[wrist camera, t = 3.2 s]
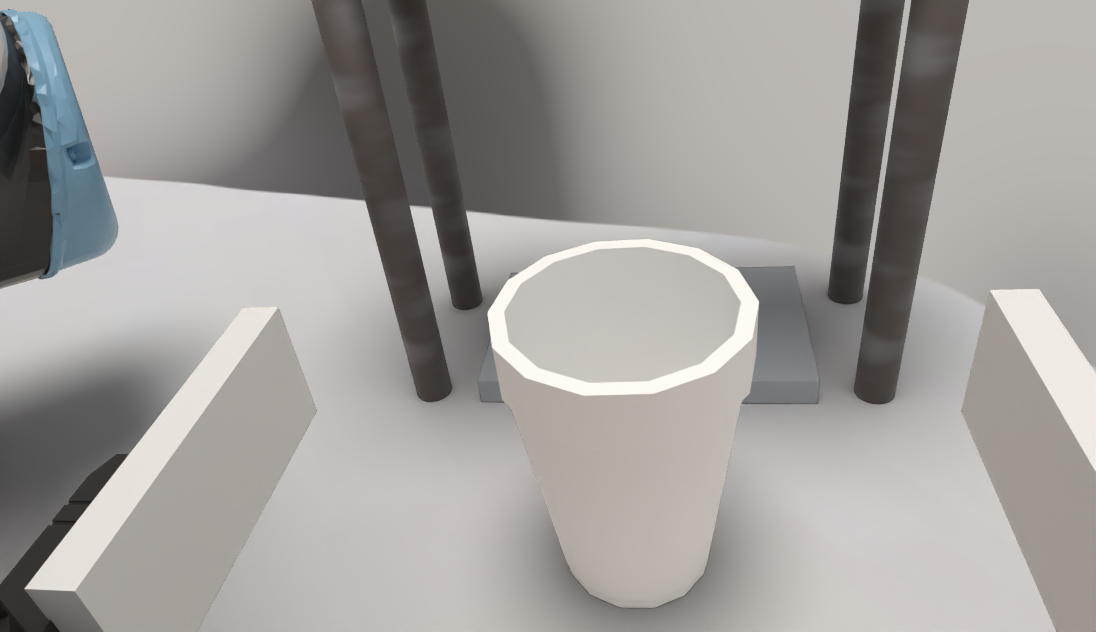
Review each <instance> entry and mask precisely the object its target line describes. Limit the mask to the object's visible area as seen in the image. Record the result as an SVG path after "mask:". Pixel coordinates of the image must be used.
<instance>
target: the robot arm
mask: <svg viewBox="0 0 1096 632" xmlns="http://www.w3.org/2000/svg"><path fill="white" fill-rule="evenodd" d="M117 235H118V222H117V218H116V215H115V212H114V209H113V205H112V202H111V199H110V196H109V193H108V190H107V187H106V184H105V181H104V178H103V175H102V172H101V169H100V166H99V163H98V160H97V157H96V154H95V151H94V148H93V146H92V142H91V140H90V137H89V134H88V131H87V128H86V125H85V122H84V119H83V116H82V113H81V110H80V107H79V104H78V101H77V98H76V95H75V92H74V90H73V87H72V84H71V81H70V78H69V75H68V71H67V68H66V65H65V62H64V59H63V57H62V54H61V51H60V48H59V45H58V42H57V39H56V36H55V33H54V31H53V28H52V25H51V24H50V23H49V21H48V20H47V18H46V17H44V16H43V15H40V14H38V13H36V12H17V11H15V10H13V9H12V10H10V9H8V10H2V11H0V289H1V288H4V287H8V286H12V285H15V284H19V283H22V282H26V281H29V280H33V279H36V278H39V279H47V278H51V277H53V276H54V275H56V274H57V273H58V271H59V270H62V269H65V268H68V267H71V266H73V265H76V264H79V263H82V262H85V261H88V260H91V259H93V258H96V257H99V256H101V255H103V254H104V253H106V252H107V251H108V250H109V249H110V248H111V247H112V245H113V244H114V243H115V241H116V238H117ZM316 412H317V409H316V407H315V404H314V401H313V399H312V396H311V393H310V391H309V388H308V385H307V383H306V380H305V377H304V374H303V372H302V369H301V366H300V364H299V361H298V358H297V356H296V353H295V350H294V348H293V345H292V342H291V339H290V337H289V334H288V331H287V329H286V326H285V323H284V321H283V318H282V315H281V313H280V310H279V307H255V308H243V309H242V310H241V311H240V312H239V314H238V315H237V316H236V318H235V319H234V320H233V321H232V323H231V324H230V325H229V327H228V328H227V329H226V330H225V332H224V333H223V334H222V336H221V337H220V338H219V339H218V341H217V342H216V343H215V345H214V346H213V347H212V348H211V350H210V351H209V352H208V354H207V355H206V356H205V357H204V359H203V360H202V361H201V363H200V364H199V365H198V366H197V368H196V369H195V370H194V372H193V373H192V374H191V375H190V377H189V378H188V379H187V381H186V382H185V383H184V384H183V386H182V387H181V388H180V390H179V391H178V392H177V393H176V395H175V396H174V397H173V399H172V400H171V401H170V402H169V404H168V405H167V406H166V408H165V409H164V410H163V411H162V413H161V414H160V415H159V417H158V418H157V419H156V420H155V422H154V423H153V424H152V425H151V427H150V428H149V429H148V431H147V432H146V433H145V434H144V436H143V437H142V438H141V440H140V441H139V442H138V443H137V445H136V446H135V447H134V449H133V450H132V451H131V452H130V454H116V455H115V456H114V457H112V458H111V459H110V460H109V461H107V462H106V463H105V464H103V465H102V466H101V467H99V468H98V469H97V470H96V471H94V472H93V473H92V474H90V475H89V476H88V477H87V478H86V480H85V481H84V482H83V483H82V485H81V486H80V487H79V488H78V490H77V491H76V492H75V493H74V494H73V496H72V497H71V498H70V499H69V504H68V505H65V506H64V507H63V508H62V509H61V510H60V512H59V513H58V514H57V515H56V517H55V518H54V519H53V520H52V521H53V524H52V525H51V526H50V525H48V526H47V528H46V529H45V530H44V531H43V533H42V534H41V535H40V536H39V538H38V539H37V540H36V541H35V542H34V544H33V545H32V546H31V547H30V549H29V550H28V551H27V552H26V554H25V555H24V556H23V557H22V559H21V560H20V561H19V562H18V563H17V565H16V566H15V567H14V568H13V570H12V571H11V572H10V573H9V575H8V576H7V577H6V578H5V579H4V581H3V582H2V583H1V584H0V632H197V630H198V628H199V626H200V625H201V623H202V621H203V619H204V617H205V615H206V614H207V612H208V610H209V608H210V606H211V604H212V603H213V601H214V599H215V597H216V595H217V593H218V592H219V590H220V588H221V586H222V584H223V582H224V581H225V579H226V577H227V575H228V573H229V571H230V570H231V568H232V566H233V564H234V562H235V560H236V559H237V557H238V555H239V553H240V551H241V549H242V548H243V546H244V544H245V542H246V540H247V538H248V537H249V535H250V533H251V531H252V529H253V527H254V526H255V524H256V522H257V520H258V518H259V516H260V515H261V513H262V511H263V509H264V507H265V505H266V504H267V502H268V500H269V498H270V496H271V494H272V493H273V491H274V489H275V487H276V485H277V483H278V481H279V480H280V478H281V476H282V474H283V472H284V470H285V469H286V467H287V465H288V463H289V461H290V459H291V458H292V456H293V454H294V452H295V450H296V448H297V447H298V445H299V443H300V441H301V439H302V437H303V436H304V434H305V432H306V430H307V428H308V426H309V425H310V423H311V421H312V419H313V417H314V415H315V414H316ZM961 412H962V414H963V417H964V419H965V421H966V423H967V426H968V428H969V430H970V433H971V435H972V437H973V440H974V442H975V444H976V447H977V449H978V451H979V454H980V456H981V458H982V461H983V463H984V465H985V467H986V470H987V472H988V474H989V477H990V479H991V481H992V484H993V486H994V488H995V491H996V493H997V495H998V498H999V500H1000V502H1001V504H1002V507H1003V509H1004V511H1005V514H1006V516H1007V518H1008V521H1009V523H1010V525H1011V528H1012V530H1013V532H1014V535H1015V537H1016V539H1017V542H1018V544H1019V546H1020V548H1021V551H1022V553H1023V555H1024V558H1025V560H1026V562H1027V565H1028V567H1029V569H1030V572H1031V574H1032V576H1033V579H1034V581H1035V583H1036V586H1037V588H1038V590H1039V592H1040V595H1041V597H1042V599H1043V602H1044V604H1045V606H1046V609H1047V611H1048V613H1049V616H1050V618H1051V620H1052V623H1053V625H1054V627H1055V630H1056V632H1096V373H1095V372H1094V370H1093V369H1092V367H1091V366H1090V364H1089V363H1088V361H1087V360H1086V358H1085V357H1084V355H1083V354H1082V352H1081V351H1080V350H1079V348H1078V346H1077V345H1076V343H1075V342H1074V340H1073V339H1072V337H1071V336H1070V334H1069V333H1068V332H1067V330H1066V329H1065V327H1064V326H1063V324H1062V323H1061V321H1060V320H1059V318H1058V317H1057V315H1056V314H1055V312H1054V311H1053V309H1052V308H1051V306H1050V305H1049V303H1048V302H1047V301H1046V299H1045V298H1044V296H1043V294H1042V293H1041V292H1040V290H1039V289H1021V290H1020V289H1018V290H990V292H989V296H988V301H987V304H986V309H985V313H984V317H983V321H982V326H981V330H980V334H979V338H978V343H977V347H976V351H975V355H974V360H973V364H972V368H971V372H970V376H969V381H968V385H967V389H966V393H965V398H964V402H963V406H962V410H961Z"/></svg>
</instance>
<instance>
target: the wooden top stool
mask: <svg viewBox="0 0 1096 632" xmlns="http://www.w3.org/2000/svg"><path fill="white" fill-rule="evenodd" d="M311 1H312V4H313V8H314V11H315V15H316V19H317V23H318V27H319V30H320V34H321V38H322V41H323V45H324V49H325V52H326V56H327V60H328V64H329V67H330V71H331V75H332V78H333V82H334V86H335V90H336V93H337V97H338V101H339V105H340V108H341V112H342V115H343V119H344V123H345V127H346V131H347V134H348V138H349V141H350V145H351V149H352V153H353V156H354V160H355V164H356V168H357V171H358V175H359V179H360V183H361V186H362V190H363V194H364V197H365V201H366V205H367V209H368V212H369V216H370V220H371V223H372V227H373V231H374V235H375V238H376V242H377V246H378V250H379V253H380V257H381V261H382V264H383V268H384V272H385V276H386V279H387V283H388V287H389V290H390V294H391V298H392V302H393V305H394V309H395V313H396V316H397V320H398V324H399V328H400V331H401V335H402V339H403V342H404V346H405V350H406V354H407V357H408V361H409V365H410V368H411V372H412V376H413V380H414V383H415V387H416V391H417V394H418V397H419V398H420V399H422V400H424V401H437V400H440V399H442V398H444V397H446V396H447V395H448V394H449V393H450V392H451V389H452V385H451V381H450V377H449V373H448V368H447V364H446V360H445V355H444V351H443V347H442V343H441V338H440V334H439V330H438V326H437V321H436V317H435V313H434V309H433V304H432V300H431V296H430V292H429V287H428V283H427V279H426V274H425V270H424V266H423V262H422V257H421V253H420V249H419V245H418V240H417V236H416V232H415V228H414V223H413V219H412V215H411V211H410V206H409V202H408V198H407V194H406V189H405V185H404V181H403V176H402V172H401V168H400V164H399V159H398V155H397V151H396V147H395V142H394V138H393V134H392V129H391V125H390V121H389V117H388V113H387V108H386V104H385V100H384V95H383V91H382V87H381V83H380V78H379V74H378V70H377V66H376V61H375V57H374V53H373V49H372V45H371V40H370V36H369V31H368V27H367V23H366V19H365V14H364V10H363V6H362V2H361V0H311ZM387 3H388V8H389V12H390V17H391V22H392V26H393V31H394V35H395V40H396V44H397V49H398V53H399V59H400V63H401V67H402V72H403V77H404V82H405V86H406V91H407V96H408V100H409V105H410V109H411V114H412V119H413V123H414V128H415V132H416V137H417V142H418V146H419V151H420V156H421V160H422V165H423V169H424V174H425V179H426V183H427V188H428V192H429V197H430V201H431V206H432V211H433V216H434V220H435V225H436V229H437V234H438V239H439V243H440V248H441V252H442V257H443V262H444V266H445V271H446V276H447V280H448V285H449V289H450V294H451V299H452V303H453V306H454V307H455V308H458V309H471V308H474V307H476V306H478V305H479V304H480V303H481V302H482V294H481V289H480V284H479V279H478V273H477V268H476V263H475V257H474V252H473V247H472V242H471V236H470V231H469V226H468V221H467V215H466V210H465V205H464V199H463V194H462V189H461V184H460V178H459V173H458V168H457V163H456V157H455V152H454V147H453V141H452V136H451V131H450V126H449V121H448V115H447V110H446V105H445V99H444V94H443V89H442V83H441V78H440V73H439V69H438V62H437V57H436V52H435V47H434V42H433V36H432V31H431V25H430V20H429V15H428V10H427V5H426V0H387ZM904 3H905V0H861V5H860V14H859V23H858V32H857V41H856V50H855V58H854V67H853V76H852V85H851V94H850V103H849V112H848V120H847V129H846V138H845V147H844V156H843V164H842V173H841V182H840V191H839V200H838V209H837V218H836V226H835V235H834V245H833V253H832V262H831V271H830V280H829V288H828V296H829V297H830V298H831V299H832V300H834V301H836V302H839V303H843V304H851V303H856V302H858V301H860V300H861V299H862V296H863V289H864V282H865V275H866V268H867V261H868V254H869V247H870V240H871V233H872V226H873V219H874V212H875V205H876V197H877V191H878V184H879V177H880V170H881V163H882V156H883V149H884V142H885V135H886V128H887V121H888V114H889V107H890V101H891V93H892V87H893V79H894V73H895V66H896V59H897V52H898V45H899V38H900V31H901V23H902V17H903V9H904ZM968 3H969V0H911V7H910V13H909V20H908V27H907V34H906V41H905V47H904V54H903V61H902V67H901V75H900V81H899V88H898V95H897V101H896V108H895V115H894V122H893V128H892V135H891V142H890V149H889V156H888V162H887V169H886V176H885V183H884V189H883V196H882V203H881V210H880V216H879V223H878V230H877V237H876V243H875V251H874V257H873V263H872V270H871V277H870V284H869V290H868V297H867V304H866V311H865V317H864V324H863V331H862V338H861V345H860V351H859V358H858V365H857V372H856V378H855V385H854V391H855V393H856V395H857V396H858V397H859V398H860V399H862V400H864V401H866V402H869V403H875V404H882V403H887V402H889V401H891V400H892V399H893V398H894V396H895V391H896V386H897V381H898V375H899V370H900V365H901V359H902V354H903V349H904V343H905V338H906V333H907V327H908V322H909V317H910V311H911V306H912V301H913V295H914V290H915V285H916V279H917V274H918V268H919V264H920V258H921V253H922V248H923V242H924V237H925V231H926V226H927V221H928V216H929V210H930V205H931V200H932V194H933V189H934V184H935V178H936V173H937V168H938V162H939V157H940V152H941V146H942V141H943V136H944V130H945V125H946V120H947V115H948V109H949V104H950V99H951V93H952V88H953V83H954V77H955V72H956V66H957V61H958V56H959V50H960V45H961V40H962V35H963V29H964V24H965V19H966V13H967V8H968Z"/></svg>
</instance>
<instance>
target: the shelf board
mask: <svg viewBox="0 0 1096 632" xmlns="http://www.w3.org/2000/svg"><path fill="white" fill-rule="evenodd" d="M736 269H738V270H739V272H740V273H741V275H742V276H743V278H744V279H745V281H746V282H747V284H748V285H749V287H750V288H751V290H752V292H753V293H754V295H755V296H756V298H757V299H758V301H759V312H758V331H757V350H756V359H755V365H754V371H753V377H752V383H751V389H750V394H749V395H748V396H747V397H745V398H744V399H743V400H742V403H818V394H819V386H820V379H819V375H818V370H817V366H816V361H815V357H814V352H813V348H812V343H811V339H810V335H809V330H808V326H807V321H806V317H805V312H804V308H803V303H802V299H801V294H800V290H799V285H798V281H797V276H796V272H795V267H794V266H784V267H740V268H736ZM517 274H519V273H511V274H510V277H509V279H511V278H512V277H514V276H515V275H517ZM478 386H479V391H480V396H481V400H482V402H504V401H503V400H502V397H501V392H500V387H499V381H498V376H497V371H496V366H495V360H494V355H493V350H492V343H491V339H490V342H489V345H488V349H487V352H486V355H485V358H484V362H483V365H482V368H481V371H480V375H479V378H478Z"/></svg>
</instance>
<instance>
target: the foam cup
mask: <svg viewBox="0 0 1096 632" xmlns="http://www.w3.org/2000/svg"><path fill="white" fill-rule="evenodd" d="M758 312H759V301H758V299H757V298H756V296H755V295H754V293H753V292H752V290H751V288H750V287H749V285H748V284H747V282H746V281H745V279H744V278H743V276H742V275H741V273H740V272H739V270H738V269H736V268H734V267H732V266H730V265H728V264H726V263H725V262H723V261H721V260H719V259H717V258H715V257H714V256H712V255H710V254H708V253H706V252H704V251H702V250H701V249H699V248H693V247H688V246H683V245H678V244H672V243H667V242H662V241H656V240H651V239H638V240H619V241H600V242H592V243H589V244H585V245H582V246H579V247H575V248H572V249H568V250H565V251H561V252H558V253H555V254H551V255H548V256H545V257H544V258H542V259H540V260H539V261H537V262H536V263H534V264H533V265H531V266H529V267H528V268H526V269H525V270H523V271H522V272H520V273H519V274H517V275H515V276H514V277H512V278H511V279H509V280H508V281H507V282H506V284H505V285H504V287H503V289H502V290H501V292H500V293H499V295H498V296H497V298H496V300H495V301H494V303H493V304H492V306H491V308H490V309H489V311H488V312H487V314H488V321H489V328H490V336H491V343H492V350H493V355H494V360H495V366H496V371H497V376H498V381H499V387H500V392H501V397H502V400H503V401H504V402H505V403H506V404H507V405H508V406H509V407H510V408H511V410H512V413H513V415H514V418H515V421H516V424H517V426H518V429H519V432H520V435H521V437H522V440H523V443H524V446H525V448H526V451H527V454H528V457H529V459H530V462H531V465H532V468H533V470H534V473H535V476H536V479H537V481H538V484H539V487H540V490H541V492H542V495H543V498H544V501H545V504H546V506H547V509H548V512H549V515H550V517H551V520H552V523H553V526H554V528H555V531H556V534H557V537H558V539H559V542H560V545H561V548H562V550H563V553H564V556H565V559H566V561H567V564H568V565H569V566H570V570H571V573H572V574H573V575H574V577H575V578H576V579H577V580H578V581H579V582H580V584H581V585H582V586H583V587H584V588H585V589H586V590H587V592H588V593H589V594H590V595H592V596H595V597H597V598H599V599H602V600H604V601H606V602H608V603H611V604H613V605H615V606H618V607H620V608H655V607H658V606H660V605H662V604H665V603H667V602H670V601H672V600H674V599H677V598H679V597H682V596H684V595H685V594H686V593H687V592H688V591H689V590H690V589H691V588H692V586H693V585H694V584H695V583H696V582H697V581H698V580H699V578H700V577H701V576H702V575H703V574H704V572H705V567H706V564H707V560H708V556H709V551H710V547H711V542H712V537H713V533H714V528H715V523H716V519H717V514H718V510H719V505H720V500H721V496H722V491H723V487H724V482H725V477H726V473H727V468H728V464H729V459H730V454H731V450H732V445H733V440H734V436H735V431H736V427H737V422H738V417H739V413H740V408H741V404H742V400H743V399H744V398H745V397H747V396H748V395H749V394H750V389H751V383H752V377H753V371H754V365H755V359H756V350H757V331H758Z"/></svg>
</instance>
